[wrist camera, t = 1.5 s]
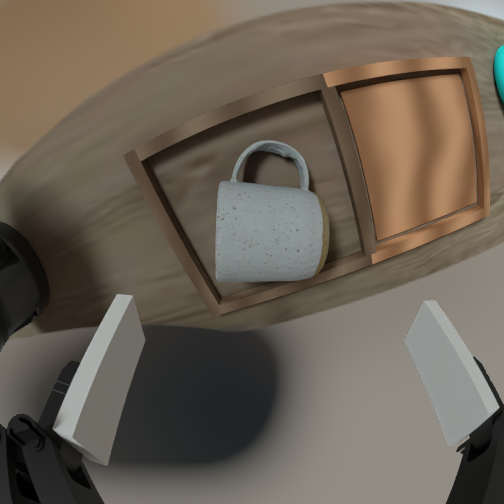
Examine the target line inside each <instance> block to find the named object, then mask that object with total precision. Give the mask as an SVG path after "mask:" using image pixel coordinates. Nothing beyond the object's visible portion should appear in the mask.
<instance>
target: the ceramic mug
mask: <svg viewBox="0 0 504 504" xmlns="http://www.w3.org/2000/svg"><path fill="white" fill-rule="evenodd" d="M255 151H266V152H273V153H276V154H280V155H282V156H283V157H290V158H292V159H293V161H294V162H295V164H296V165H297V167H298V170H299V174H300V181H301V188H291V187H282V186H270V185H264V184H255V183H246V182H239V181H238V180H237V177H238V173H239V170H240V168H241V165H242V164H243V162H244V160H245V159H246V158H247V157H248V155H250V154H251V153H252V152H255ZM308 187H309V175H308V169H307V166H306V163H305V161H304V159H303V157H302V156H301V155H300V154H299V153H298V152H297V151H296V150H295V149H294V148H293V147H291V146H289V145H287V144H285V143H282V142H278V141H272V140H266V141H259V142H257V143H254V144H252V145H251V146H249V147H248V148H247V149H246V150H245V151H244V152H243V153H242V154H241V156H240V157H239V159H238V161H237V163H236V165H235V168H234V171H233V175H232V179H231V181H222V182H221V183H220V185H219V190H218V201H217V217H216V279H217V281H219V282H222V283H225V282H265V281H298V280H303V279H308V278H311V277H314V276H316V275H317V274H318V273H319V272H320V270H321V269H322V267H323V266H324V263H325V261H326V258H327V254H328V248H329V237H330V227H329V216H328V211H327V208H326V205H325V203H324V201H323V200H322V199H321V198H320V197H319V195H317V194H316V193H313V192H310V191H309V189H308Z"/></svg>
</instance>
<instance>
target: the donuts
mask: <svg viewBox="0 0 504 504" xmlns="http://www.w3.org/2000/svg"><path fill="white" fill-rule="evenodd" d="M494 74H495V80H496V85H497V88H498V91H499V94H500V97H501V99H502V101H503V103H504V45H503V46H501V47H500V48H499V49H498V50H497V52H496V55H495V59H494Z"/></svg>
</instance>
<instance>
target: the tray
mask: <svg viewBox="0 0 504 504" xmlns="http://www.w3.org/2000/svg"><path fill="white" fill-rule="evenodd" d="M453 68H459V69H460V72H461V76H462V79H463V83H464V87H465V92H466V96H467V101H468V106H469V111H470V116H471V122H472V129H473V136H474V144H475V153H476V165H477V185H478V205H477V206H474V207H472V208H470V209H467V210H465V211H462V212H460V213H458V214H455V215H453V216H450V217H448V218H445V219H443V220H440V221H438V222H435V223H433V224H430V225H428V226H425V227H423V228H420V229H418V230H415V231H413V232H410V233H407V234H405V235H402V236H400V237H397V238H394V239H392V240H389V241H386V242H384V243H381V244H378V245H376V246H375V240H374V234H373V228H372V222H371V217H370V211H369V206H368V201H367V197H366V192H365V188H364V183H363V179H362V175H361V171H360V166H359V163H358V159H357V155H356V151H355V148H354V144H353V140H352V137H351V133H350V130H349V127H348V124H347V120H346V117H345V114H344V111H343V108H342V105H341V102H340V99H339V96H338V93H337V91H336V88H335V86H336V85H340V84H345V83H349V82H354V81H359V80H364V79H369V78H374V77H380V76H386V75H392V74H399V73H407V72H415V71H425V70H436V69H453ZM316 90H317V91H318V93H319V96H320V99H321V101H322V104H323V107H324V110H325V113H326V116H327V119H328V122H329V125H330V128H331V131H332V134H333V137H334V140H335V143H336V147H337V150H338V153H339V157H340V160H341V164H342V167H343V171H344V175H345V178H346V182H347V186H348V190H349V194H350V198H351V202H352V207H353V211H354V215H355V220H356V225H357V229H358V234H359V239H360V244H361V250H362V251H359V252H357V253H354V254H351V255H348V256H346V257H343V258H340V259H337V260H334V261H331V262H329V263H326V264H324V266H323V267H322V269H321V270H320V272H319V273H318V274H317V275H316V276H314V277H311V278H308V279H303V280H298V281H273V282H270V283H267V284H263V285H260V286H257V287H254V288H251V289H248V290H245V291H242V292H238V293H235V294H232V295H229V296H226V297H222V298H220V297H219V295H218V294H217V292H216V290H215V289H214V287H213V285H212V283H211V282H210V280H209V278H208V276H207V275H206V273H205V271H204V269H203V268H202V266H201V264H200V262H199V260H198V259H197V257H196V255H195V253H194V251H193V250H192V248H191V246H190V244H189V242H188V241H187V239H186V237H185V235H184V233H183V231H182V229H181V228H180V226H179V224H178V222H177V220H176V218H175V216H174V214H173V213H172V211H171V209H170V207H169V205H168V203H167V201H166V199H165V197H164V195H163V193H162V191H161V189H160V187H159V185H158V183H157V181H156V179H155V177H154V175H153V173H152V171H151V169H150V167H149V165H148V163H147V161H146V158H148V157H150V156H151V155H153V154H155V153H157V152H159V151H161V150H163V149H165V148H167V147H169V146H171V145H173V144H175V143H177V142H179V141H181V140H183V139H186V138H188V137H190V136H192V135H194V134H196V133H199V132H201V131H203V130H206V129H208V128H210V127H212V126H215V125H217V124H220V123H222V122H224V121H227V120H229V119H232V118H235V117H237V116H240V115H242V114H245V113H248V112H250V111H253V110H256V109H259V108H262V107H264V106H267V105H270V104H273V103H276V102H279V101H282V100H286V99H289V98H292V97H295V96H299V95H302V94H306V93H309V92H313V91H316ZM339 93H340V95H341V98H342V101H343V104H344V107H345V110H346V113H347V116H348V120H349V123H350V126H351V129H352V133H353V136H354V140H355V143H356V147H357V151H358V154H359V158H360V162H361V166H362V170H363V174H364V179H365V183H366V187H367V192H368V197H369V202H370V207H371V212H372V217H373V223H374V228H375V235H376V240H377V241H379V240H382V239H384V238H387V237H390V236H392V235H395V234H398V233H400V232H403V231H406V230H408V229H411V228H413V227H416V226H419V225H421V224H424V223H426V222H429V221H431V220H434V219H436V218H439V217H442V216H444V215H447V214H449V213H451V212H454V211H456V210H459V209H461V208H464V207H466V206H469V205H471V204H473V203H476V175H475V161H474V150H473V141H472V134H471V127H470V121H469V115H468V109H467V104H466V100H465V95H464V91H463V87H462V83H461V79H460V75H459V74H451V75H438V76H428V77H419V78H412V79H404V80H398V81H392V82H386V83H380V84H375V85H370V86H365V87H360V88H355V89H351V90H347V91H342V92H339ZM123 156H124V158H125V160H126V162H127V164H128V166H129V168H130V170H131V172H132V174H133V176H134V178H135V180H136V182H137V184H138V186H139V188H140V190H141V192H142V194H143V196H144V198H145V199H146V201H147V203H148V205H149V207H150V209H151V211H152V213H153V214H154V216H155V218H156V220H157V222H158V224H159V225H160V227H161V229H162V231H163V233H164V234H165V236H166V238H167V240H168V241H169V243H170V245H171V247H172V248H173V250H174V252H175V254H176V255H177V257H178V259H179V260H180V262H181V264H182V265H183V267H184V269H185V270H186V272H187V274H188V275H189V277H190V279H191V280H192V282H193V284H194V285H195V287H196V289H197V290H198V292H199V293H200V295H201V297H202V298H203V300H204V301H205V303H206V305H207V306H208V308H209V309H210V311H211V312H212V314H213V316H217V315H221V314H224V313H227V312H231V311H234V310H238V309H241V308H244V307H248V306H251V305H254V304H258V303H261V302H264V301H267V300H270V299H274V298H277V297H280V296H283V295H286V294H289V293H292V292H295V291H298V290H301V289H304V288H307V287H310V286H313V285H316V284H319V283H322V282H325V281H328V280H331V279H333V278H336V277H339V276H342V275H345V274H347V273H350V272H353V271H356V270H358V269H361V268H364V267H367V266H369V265H372V264H375V263H377V262H380V261H382V260H385V259H388V258H390V257H393V256H395V255H398V254H400V253H403V252H405V251H408V250H410V249H413V248H415V247H418V246H420V245H423V244H425V243H428V242H430V241H432V240H435V239H437V238H439V237H442V236H444V235H446V234H449V233H451V232H453V231H456V230H458V229H460V228H462V227H465V226H467V225H469V224H471V223H473V222H476V221H478V220H480V219H482V218H484V217H486V216H489V210H490V173H489V155H488V144H487V135H486V127H485V120H484V114H483V108H482V103H481V98H480V93H479V89H478V84H477V80H476V76H475V72H474V69H473V65H472V62H471V58H470V57H435V58H419V59H407V60H398V61H389V62H382V63H375V64H369V65H363V66H357V67H352V68H347V69H342V70H338V71H333V72H329V73H324V74H320V75H316V76H312V77H309V78H305V79H301V80H298V81H294V82H291V83H287V84H284V85H281V86H277V87H274V88H271V89H268V90H265V91H262V92H259V93H256V94H254V95H251V96H248V97H245V98H243V99H240V100H237V101H235V102H232V103H230V104H227V105H225V106H222V107H220V108H217V109H215V110H212V111H210V112H208V113H205V114H203V115H201V116H199V117H196V118H194V119H192V120H190V121H188V122H186V123H184V124H181V125H179V126H177V127H175V128H173V129H171V130H169V131H167V132H165V133H163V134H161V135H159V136H157V137H156V138H154V139H152V140H150V141H148V142H146V143H144V144H143V145H141V146H139V147H137V148H136V149H134V150H132V151H130V152H129V153H127V154H125V155H123Z"/></svg>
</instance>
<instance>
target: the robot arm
mask: <svg viewBox="0 0 504 504" xmlns="http://www.w3.org/2000/svg"><path fill="white" fill-rule="evenodd" d="M48 299H49V290H48V284H47V280H46V277H45V274H44V271H43V269H42V267H41V264H40V262H39V260H38V259H37V257H36V255H35V253H34V252H33V250H32V249H31V247H30V246H29V245H28V243H27V242H26V241H25V240H24V238H23V237H22V236H21V235H20V234H19V233H18V232H17V231H16V230H14V229H13V228H12V227H10V226H9V225H7V224H5V223H2V222H0V351H1V350H2V348H3V346H4V345H5V343H6V342H7V340H8V339H9V337H10V336H11V335H12V334H14V333H15V332H17V331H18V330H20V329H21V328H23V327H25V326H26V325H28V324H29V323H31V322H32V321H34V320H35V319H37V318H38V317H39V316H40V314H41V313H42V311H43V310H44V309H45V307H46V306H47V303H48ZM144 343H145V337H144V334H143V331H142V328H141V324H140V320H139V317H138V313H137V309H136V306H135V302H134V298H133V296H132V295H121V294H117V295H116V297H115V299H114V301H113V302H112V304H111V306H110V308H109V309H108V311H107V313H106V315H105V317H104V318H103V320H102V322H101V324H100V326H99V328H98V330H97V331H96V333H95V335H94V337H93V339H92V341H91V343H90V345H89V347H88V349H87V351H86V353H85V355H84V357H83V359H82V361H81V363H78V362H74V361H70V362H69V363H68V364H67V365H66V366H65V367H64V368H63V369H62V371H61V373H60V375H59V377H58V379H57V383H55V385H54V388H53V391H52V392H51V394H50V396H49V399H48V401H47V403H46V405H45V408H44V410H43V412H42V415H41V417H40V420H39V421H38V423H36V422H35V421H34V420H33V419H32V418H31V417H30V416H28V415H26V414H17V415H16V416H14V417H13V418H12V419H11V420H10V421H9V424H8V427H7V429H5V428H4V427H3V426H2V425H1V424H0V504H104V502H103V500H102V498H101V497H100V495H99V493H98V491H97V489H96V488H95V486H94V484H93V482H92V480H91V478H90V476H89V474H88V472H87V470H86V468H85V466H84V464H83V462H82V461H81V460H82V456H83V455H84V456H85V457H87V458H88V459H89V460H91V461H94V462H97V463H100V464H103V465H106V466H107V465H108V461H109V457H110V453H111V448H112V445H113V441H114V438H115V434H116V430H117V427H118V423H119V419H120V416H121V413H122V409H123V406H124V403H125V399H126V396H127V393H128V390H129V387H130V384H131V381H132V378H133V375H134V371H135V368H136V366H137V362H138V360H139V357H140V354H141V351H142V348H143V346H144ZM404 343H405V345H406V347H407V349H408V351H409V353H410V355H411V357H412V359H413V362H414V364H415V366H416V368H417V370H418V372H419V374H420V377H421V379H422V381H423V383H424V385H425V388H426V390H427V392H428V395H429V397H430V400H431V402H432V404H433V407H434V409H435V412H436V414H437V417H438V419H439V422H440V424H441V427H442V430H443V432H444V435H445V438H446V441H447V444H448V447H450V446H452V445H454V444H456V443H459V442H461V441H462V440H463V439H464V438H466V437H467V436H468V435H469V436H470V438H469V439H468V440H467V441H466V442H464V443H463V444H462V445H460V446H459V447H458V449H457V451H456V452H459V451H460V450H461V449H463V448H464V447H465V449H463V450H462V451H461V452H460V453H462V454H463V457H462V460H461V464H460V467H459V470H458V473H457V476H456V479H455V482H454V485H453V487H452V490H451V492H450V495H449V497H448V500H447V502H446V504H504V404H503V403H502V401H501V399H500V397H499V395H498V393H497V391H496V389H495V387H494V385H493V383H492V382H491V381H490V378H489V376H488V374H486V371H485V369H484V367H483V365H482V364H481V363H480V362H479V361H478V360H477V359H476V358H475V357H472V355H471V354H470V352H469V351H468V349H467V347H466V345H465V344H464V342H463V341H462V339H461V338H460V336H459V335H458V333H457V331H456V330H455V328H454V327H453V325H452V324H451V322H450V321H449V320H448V318H447V317H446V315H445V314H444V312H443V311H442V309H441V308H440V307H439V305H438V304H437V302H436V301H435V300H433V301H424V302H423V304H422V306H421V308H420V311H419V312H418V315H417V317H416V319H415V321H414V323H413V325H412V327H411V328H410V330H409V332H408V334H407V336H406V338H405V340H404Z"/></svg>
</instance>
